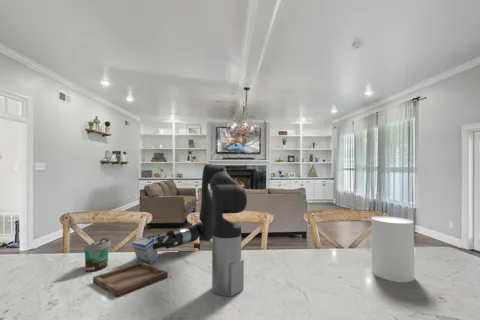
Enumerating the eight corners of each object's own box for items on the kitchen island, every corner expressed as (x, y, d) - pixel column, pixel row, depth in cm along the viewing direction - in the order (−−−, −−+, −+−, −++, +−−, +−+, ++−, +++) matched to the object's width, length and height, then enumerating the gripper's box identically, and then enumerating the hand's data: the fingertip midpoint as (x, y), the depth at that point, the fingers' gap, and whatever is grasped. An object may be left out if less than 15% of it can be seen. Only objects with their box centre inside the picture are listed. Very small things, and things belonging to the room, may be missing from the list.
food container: (99, 274, 95) (100, 246, 96) (83, 273, 95) (83, 245, 96) (116, 261, 108) (117, 237, 108) (101, 261, 108) (102, 237, 108)
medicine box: (137, 260, 109) (131, 243, 106) (145, 253, 113) (139, 236, 110) (151, 263, 105) (145, 245, 103) (159, 256, 109) (153, 238, 106)
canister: (371, 277, 94) (370, 220, 94) (372, 265, 106) (371, 215, 106) (416, 285, 88) (415, 224, 88) (412, 271, 100) (411, 218, 100)
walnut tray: (167, 277, 92) (167, 271, 92) (117, 297, 78) (117, 290, 78) (141, 267, 102) (141, 261, 102) (93, 282, 88) (93, 276, 88)
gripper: (169, 226, 126) (138, 232, 113) (189, 231, 117) (158, 238, 104) (168, 242, 126) (137, 250, 113) (188, 248, 117) (157, 257, 104)
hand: (147, 244), depth 109 cm, fingers closed on medicine box, 8 cm apart
